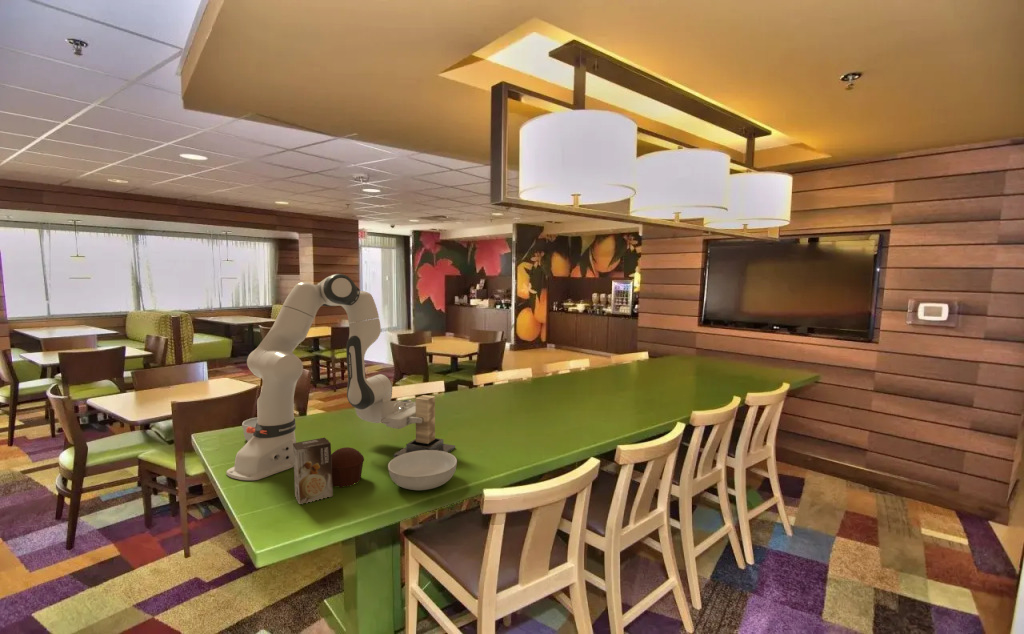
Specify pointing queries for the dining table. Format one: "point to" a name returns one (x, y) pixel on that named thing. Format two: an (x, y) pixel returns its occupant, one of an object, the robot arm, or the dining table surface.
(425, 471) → the serving bowl
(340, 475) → the muffin
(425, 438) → the pillar
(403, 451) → the collar
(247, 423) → the ramekin
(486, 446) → the dining table surface
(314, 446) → the printed cardboard box
